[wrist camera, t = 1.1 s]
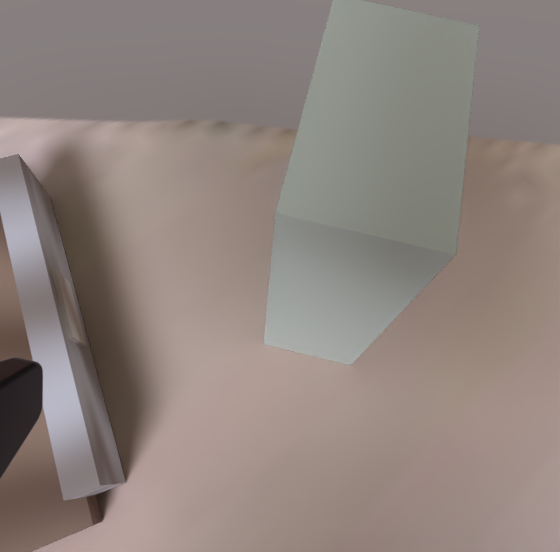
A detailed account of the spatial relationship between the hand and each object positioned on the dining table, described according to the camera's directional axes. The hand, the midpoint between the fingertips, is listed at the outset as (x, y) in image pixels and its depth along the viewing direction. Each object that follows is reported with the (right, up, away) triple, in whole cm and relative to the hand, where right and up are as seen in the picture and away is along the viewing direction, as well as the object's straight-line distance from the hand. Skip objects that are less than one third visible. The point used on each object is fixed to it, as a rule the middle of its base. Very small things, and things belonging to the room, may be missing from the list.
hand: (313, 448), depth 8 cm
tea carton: (+1, +2, +15) cm, 16 cm away
